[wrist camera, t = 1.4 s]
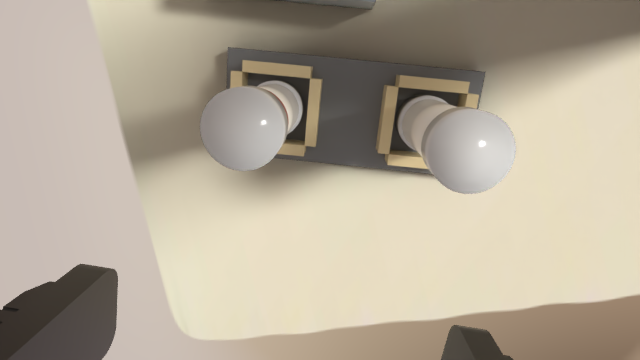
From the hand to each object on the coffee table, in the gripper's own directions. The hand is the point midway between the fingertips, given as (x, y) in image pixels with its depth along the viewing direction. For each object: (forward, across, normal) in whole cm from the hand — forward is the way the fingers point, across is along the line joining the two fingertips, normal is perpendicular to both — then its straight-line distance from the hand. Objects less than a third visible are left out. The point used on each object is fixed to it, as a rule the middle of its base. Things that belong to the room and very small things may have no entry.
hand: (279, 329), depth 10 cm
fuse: (+23, -8, -4) cm, 24 cm away
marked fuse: (+23, +3, -3) cm, 23 cm away
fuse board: (+24, -2, -3) cm, 24 cm away
